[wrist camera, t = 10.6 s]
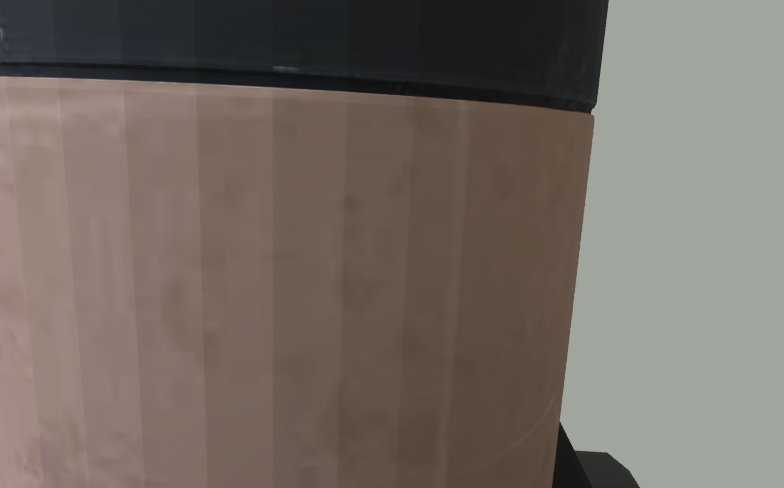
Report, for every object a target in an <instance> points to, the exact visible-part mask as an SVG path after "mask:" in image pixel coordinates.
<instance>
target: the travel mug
mask: <svg viewBox="0 0 784 488" xmlns="http://www.w3.org/2000/svg"><path fill="white" fill-rule="evenodd" d="M608 2H609V0H0V488H552V482H553V473H554V465H555V456H556V447H557V439H558V430H559V422H560V412H561V404H562V395H563V387H564V379H565V370H566V361H567V352H568V344H569V335H570V326H571V318H572V310H573V301H574V293H575V283H576V275H577V266H578V258H579V250H580V241H581V232H582V224H583V214H584V206H585V198H586V189H587V181H588V172H589V164H590V154H591V146H592V137H593V129H594V116H593V115H591V111H592V109H593V108H594V107H595V105H596V103H597V95H598V87H599V78H600V70H601V61H602V53H603V43H604V35H605V27H606V18H607V10H608Z"/></svg>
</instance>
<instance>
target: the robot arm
mask: <svg viewBox="0 0 784 488" xmlns="http://www.w3.org/2000/svg"><path fill="white" fill-rule="evenodd" d="M552 488H640V487H639V486H638V484H637V482H636V481H635V479H634V478H633V476H632V475H631V473H630V471H629V470H628V469H626V468H625V467H624V466H623V465H622V464H620V463H619V462H618V461H617V460H615V459H614V458H613V457H612V456H611V455H609V454H608V453H605V452H588V451H574V449H573V447H572V445H571V443H570V441H569V439H568V437H567V435H566V433H565V431H564V429H563V427H562V425H561V423H560V422H559V430H558V439H557V447H556V456H555V465H554V473H553V482H552Z"/></svg>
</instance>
